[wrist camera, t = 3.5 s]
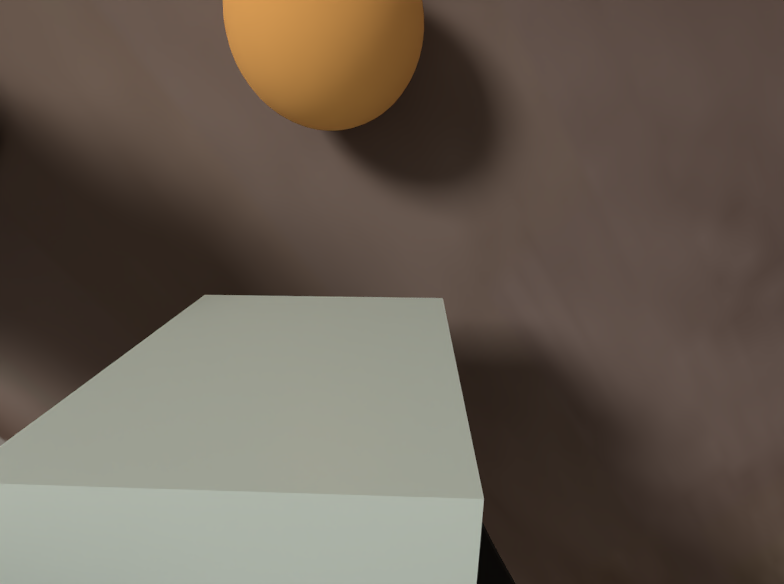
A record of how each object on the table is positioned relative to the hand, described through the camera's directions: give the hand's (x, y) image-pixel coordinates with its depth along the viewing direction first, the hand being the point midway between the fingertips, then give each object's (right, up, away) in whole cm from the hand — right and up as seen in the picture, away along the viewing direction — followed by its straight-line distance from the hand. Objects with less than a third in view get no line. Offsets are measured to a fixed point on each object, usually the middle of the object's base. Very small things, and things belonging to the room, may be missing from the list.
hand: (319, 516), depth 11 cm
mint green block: (0, +1, +2) cm, 2 cm away
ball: (0, +12, 0) cm, 12 cm away
